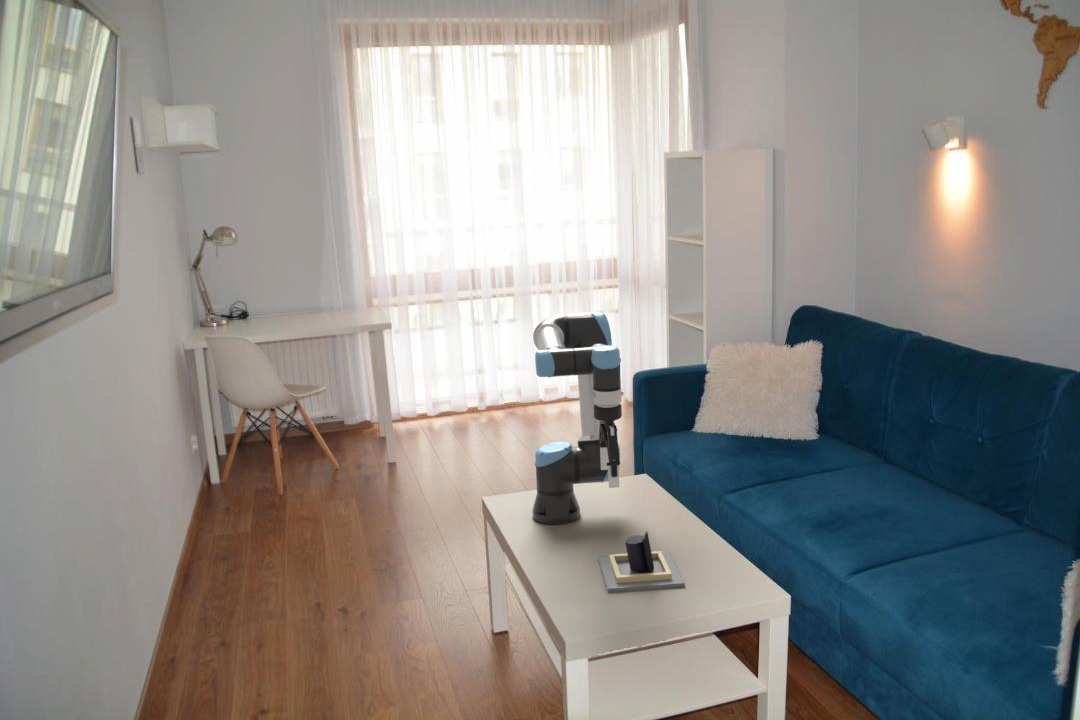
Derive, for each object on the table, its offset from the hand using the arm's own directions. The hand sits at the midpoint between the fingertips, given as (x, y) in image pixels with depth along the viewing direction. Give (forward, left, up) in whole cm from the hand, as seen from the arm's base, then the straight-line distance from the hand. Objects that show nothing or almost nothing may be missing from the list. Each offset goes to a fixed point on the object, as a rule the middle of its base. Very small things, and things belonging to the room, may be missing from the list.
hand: (609, 478), depth 236 cm
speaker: (+11, +6, -23) cm, 26 cm away
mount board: (+10, +6, -24) cm, 26 cm away
